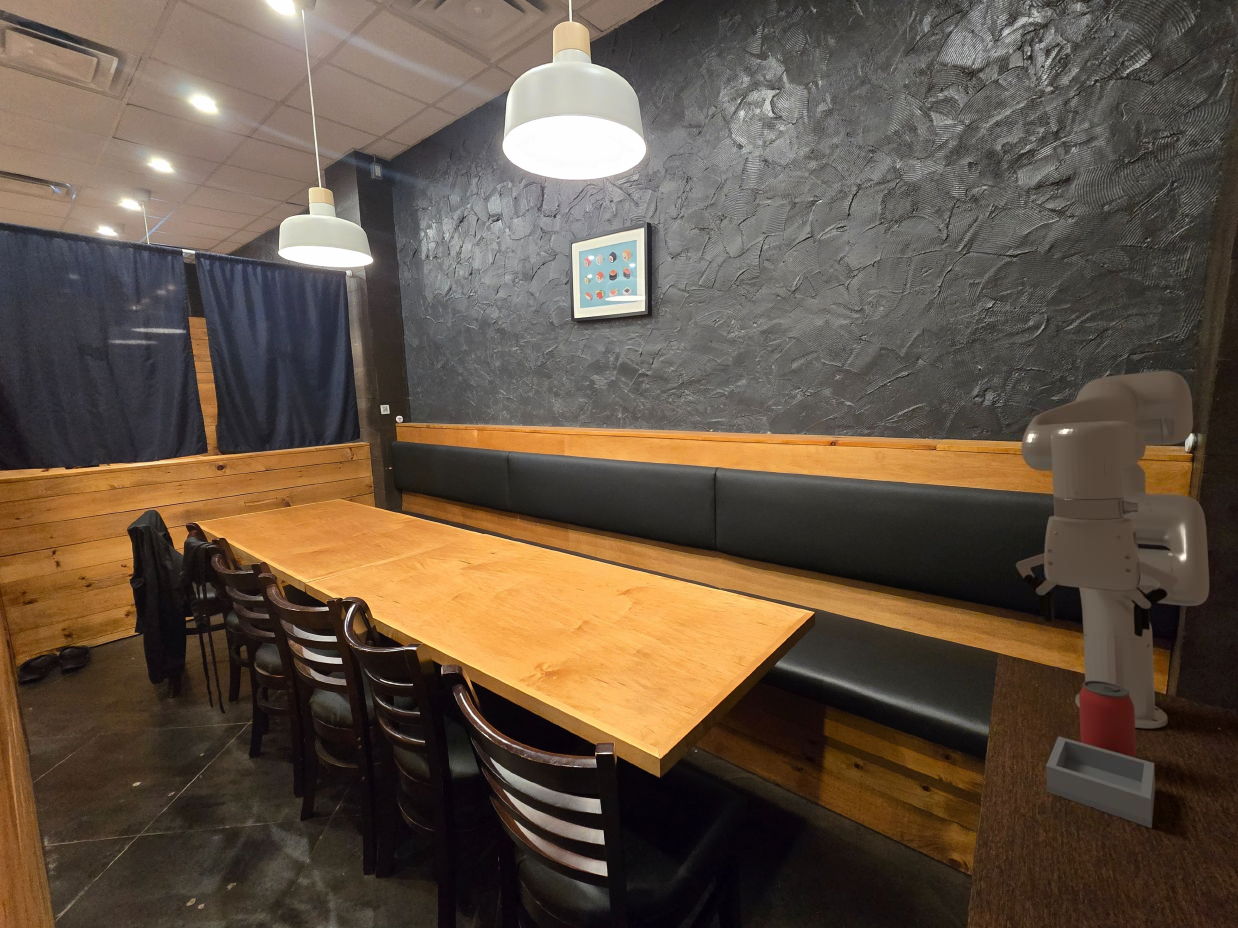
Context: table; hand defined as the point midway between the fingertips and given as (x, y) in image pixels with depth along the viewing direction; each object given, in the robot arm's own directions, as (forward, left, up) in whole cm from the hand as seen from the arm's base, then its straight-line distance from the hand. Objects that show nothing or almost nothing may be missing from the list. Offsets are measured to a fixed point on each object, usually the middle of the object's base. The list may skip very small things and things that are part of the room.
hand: (1092, 626), depth 76 cm
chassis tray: (-2, 0, -26) cm, 26 cm away
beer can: (-13, 0, -26) cm, 29 cm away
